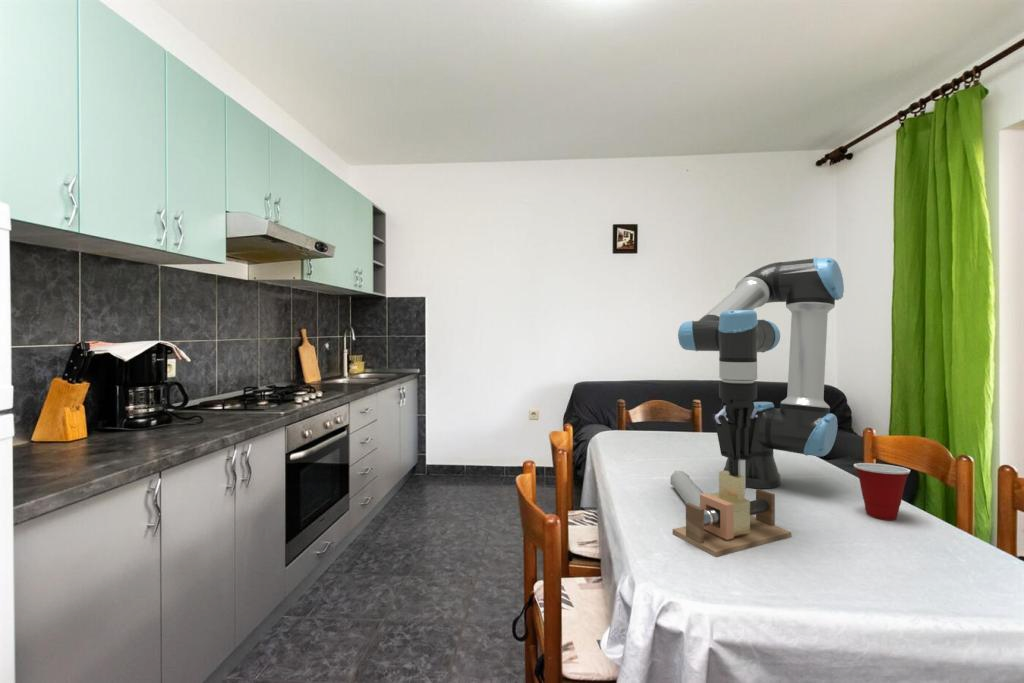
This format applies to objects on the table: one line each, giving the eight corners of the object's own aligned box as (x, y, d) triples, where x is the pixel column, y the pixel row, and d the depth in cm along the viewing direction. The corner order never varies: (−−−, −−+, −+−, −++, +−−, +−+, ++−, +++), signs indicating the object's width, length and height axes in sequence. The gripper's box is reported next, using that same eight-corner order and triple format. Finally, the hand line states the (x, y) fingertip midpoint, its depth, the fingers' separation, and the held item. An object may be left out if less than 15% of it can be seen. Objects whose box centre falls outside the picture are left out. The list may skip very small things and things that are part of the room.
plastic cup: (893, 508, 119) (893, 460, 119) (921, 526, 109) (921, 473, 108) (844, 506, 121) (844, 458, 121) (867, 522, 111) (867, 471, 110)
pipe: (759, 509, 110) (759, 496, 110) (771, 513, 108) (771, 500, 108) (689, 525, 102) (689, 511, 102) (700, 530, 99) (700, 515, 99)
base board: (744, 517, 115) (744, 483, 115) (791, 536, 104) (791, 499, 104) (672, 533, 106) (672, 497, 106) (715, 556, 95) (715, 516, 95)
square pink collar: (706, 525, 107) (706, 493, 107) (733, 538, 100) (733, 503, 100) (700, 527, 106) (699, 494, 106) (726, 539, 99) (726, 505, 99)
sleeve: (724, 521, 109) (724, 469, 108) (749, 532, 102) (749, 477, 102) (707, 524, 107) (707, 472, 106) (732, 536, 100) (732, 480, 100)
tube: (722, 507, 111) (691, 474, 136) (700, 499, 112) (673, 467, 137) (715, 528, 112) (685, 491, 137) (692, 520, 112) (667, 485, 137)
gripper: (744, 378, 111) (744, 479, 111) (702, 380, 106) (702, 487, 106) (773, 381, 104) (773, 489, 104) (730, 384, 99) (730, 498, 99)
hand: (737, 488), depth 105 cm, fingers closed
